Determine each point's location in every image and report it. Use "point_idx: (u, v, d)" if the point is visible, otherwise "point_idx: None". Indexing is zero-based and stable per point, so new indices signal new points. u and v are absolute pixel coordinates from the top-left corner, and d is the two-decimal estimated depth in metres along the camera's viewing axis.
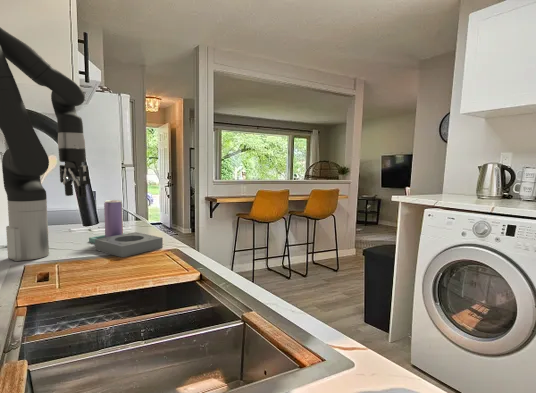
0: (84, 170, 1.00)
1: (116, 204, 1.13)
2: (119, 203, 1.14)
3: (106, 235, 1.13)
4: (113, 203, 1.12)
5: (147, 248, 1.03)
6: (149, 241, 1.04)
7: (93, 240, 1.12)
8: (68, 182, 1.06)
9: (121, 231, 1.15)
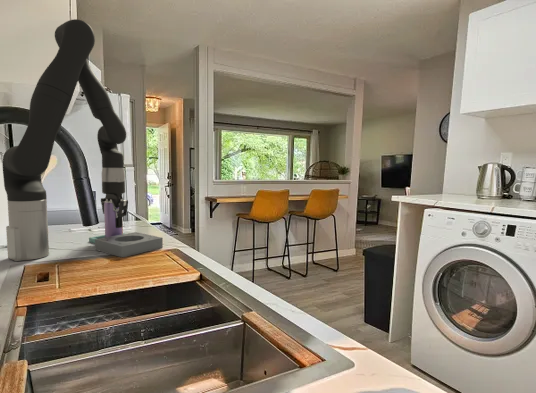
0: (124, 205, 1.11)
1: None
2: None
3: (106, 235, 1.13)
4: None
5: (147, 248, 1.03)
6: (149, 241, 1.04)
7: (93, 240, 1.12)
8: None
9: (121, 231, 1.15)
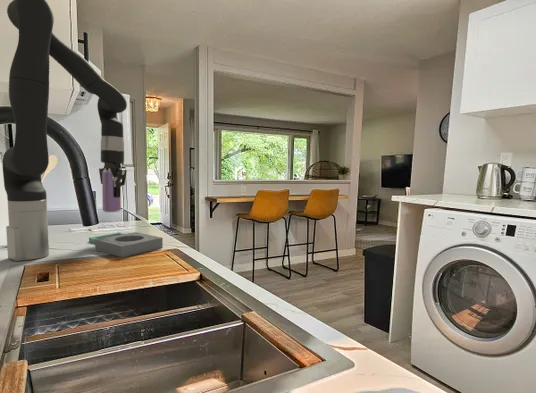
0: (122, 173, 1.10)
1: None
2: None
3: (104, 205, 1.12)
4: None
5: (147, 248, 1.03)
6: (149, 241, 1.04)
7: (93, 240, 1.12)
8: None
9: (119, 201, 1.14)
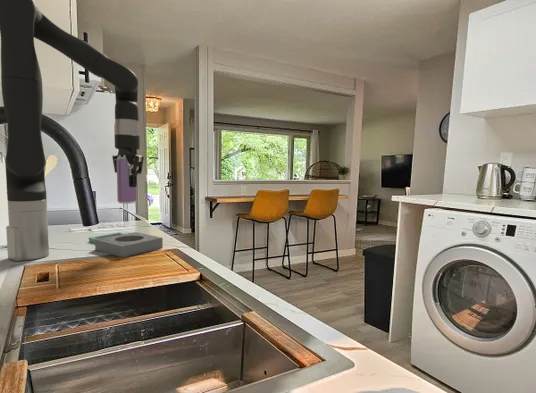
0: (139, 160, 1.00)
1: None
2: None
3: (119, 195, 1.02)
4: None
5: (147, 248, 1.03)
6: (149, 241, 1.04)
7: (93, 240, 1.12)
8: None
9: (135, 191, 1.04)
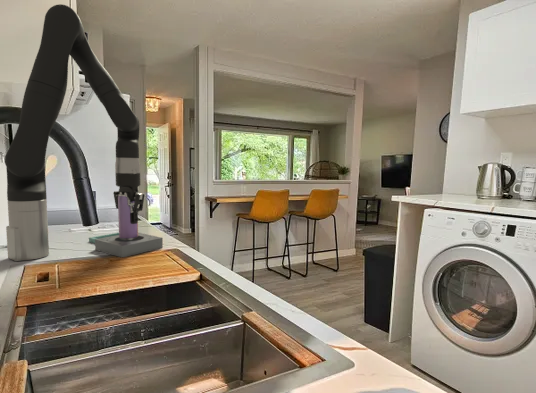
0: (140, 198, 1.01)
1: None
2: None
3: (120, 232, 1.03)
4: None
5: (147, 248, 1.03)
6: (149, 241, 1.04)
7: (93, 240, 1.12)
8: None
9: (136, 227, 1.05)
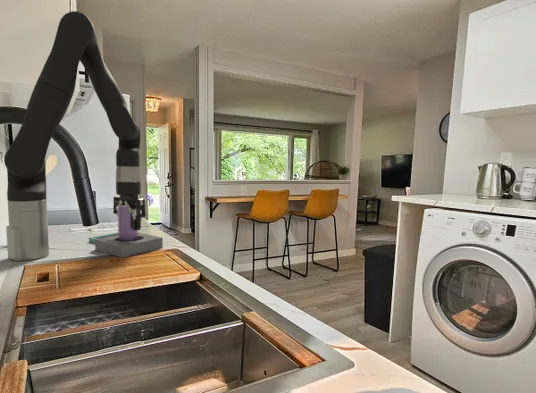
0: (141, 204, 1.01)
1: None
2: None
3: None
4: None
5: (147, 248, 1.03)
6: (149, 241, 1.04)
7: (93, 240, 1.12)
8: None
9: (136, 237, 1.06)
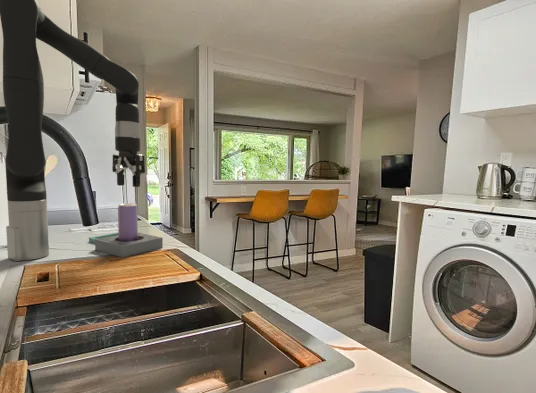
0: (140, 159, 0.99)
1: (131, 208, 1.03)
2: (134, 207, 1.04)
3: None
4: (128, 207, 1.02)
5: (147, 248, 1.03)
6: (149, 241, 1.04)
7: (93, 240, 1.12)
8: (120, 172, 1.06)
9: (136, 237, 1.06)
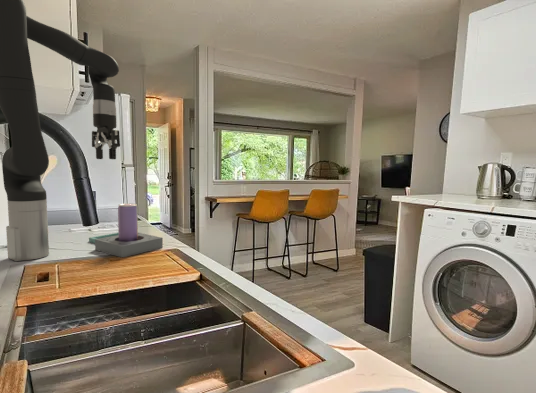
0: (116, 134, 1.11)
1: (131, 208, 1.03)
2: (134, 207, 1.04)
3: None
4: (128, 207, 1.02)
5: (147, 248, 1.03)
6: (149, 241, 1.04)
7: (93, 240, 1.12)
8: (99, 146, 1.17)
9: (136, 237, 1.06)
